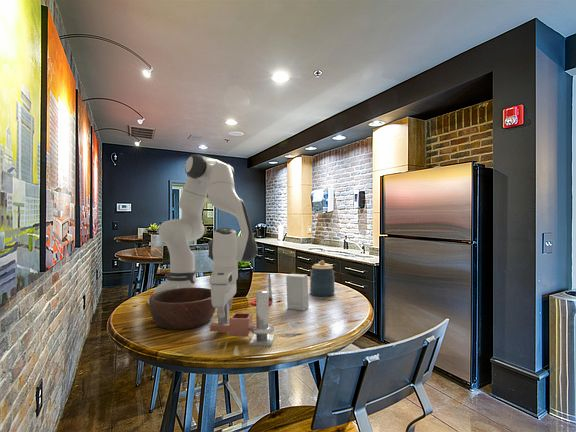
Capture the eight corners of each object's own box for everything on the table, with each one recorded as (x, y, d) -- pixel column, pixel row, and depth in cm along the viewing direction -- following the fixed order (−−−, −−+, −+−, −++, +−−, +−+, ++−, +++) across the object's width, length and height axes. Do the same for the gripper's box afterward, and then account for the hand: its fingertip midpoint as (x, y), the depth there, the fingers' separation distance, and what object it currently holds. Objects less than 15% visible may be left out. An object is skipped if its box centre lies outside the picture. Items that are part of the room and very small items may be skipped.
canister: (321, 289, 172) (321, 257, 172) (339, 294, 163) (339, 260, 163) (304, 293, 164) (304, 260, 164) (323, 298, 154) (323, 262, 154)
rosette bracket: (207, 344, 98) (207, 293, 98) (214, 335, 106) (214, 288, 106) (272, 346, 97) (272, 295, 97) (275, 336, 104) (275, 289, 104)
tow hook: (249, 306, 141) (271, 306, 140) (248, 276, 141) (269, 275, 141) (252, 301, 150) (273, 300, 149) (251, 272, 150) (272, 271, 150)
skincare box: (308, 307, 138) (308, 274, 138) (303, 311, 132) (303, 276, 132) (291, 305, 142) (292, 272, 142) (285, 308, 136) (285, 274, 136)
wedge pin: (217, 332, 108) (218, 303, 108) (220, 328, 112) (220, 301, 112) (226, 332, 108) (227, 303, 108) (229, 329, 111) (229, 301, 111)
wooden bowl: (166, 310, 133) (166, 286, 133) (224, 311, 132) (224, 287, 132) (135, 332, 108) (135, 303, 108) (206, 333, 107) (207, 304, 107)
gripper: (224, 269, 121) (224, 304, 121) (207, 279, 100) (207, 322, 100) (240, 269, 120) (240, 305, 120) (226, 280, 100) (226, 323, 100)
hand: (225, 313), depth 110 cm, fingers open, 8 cm apart
